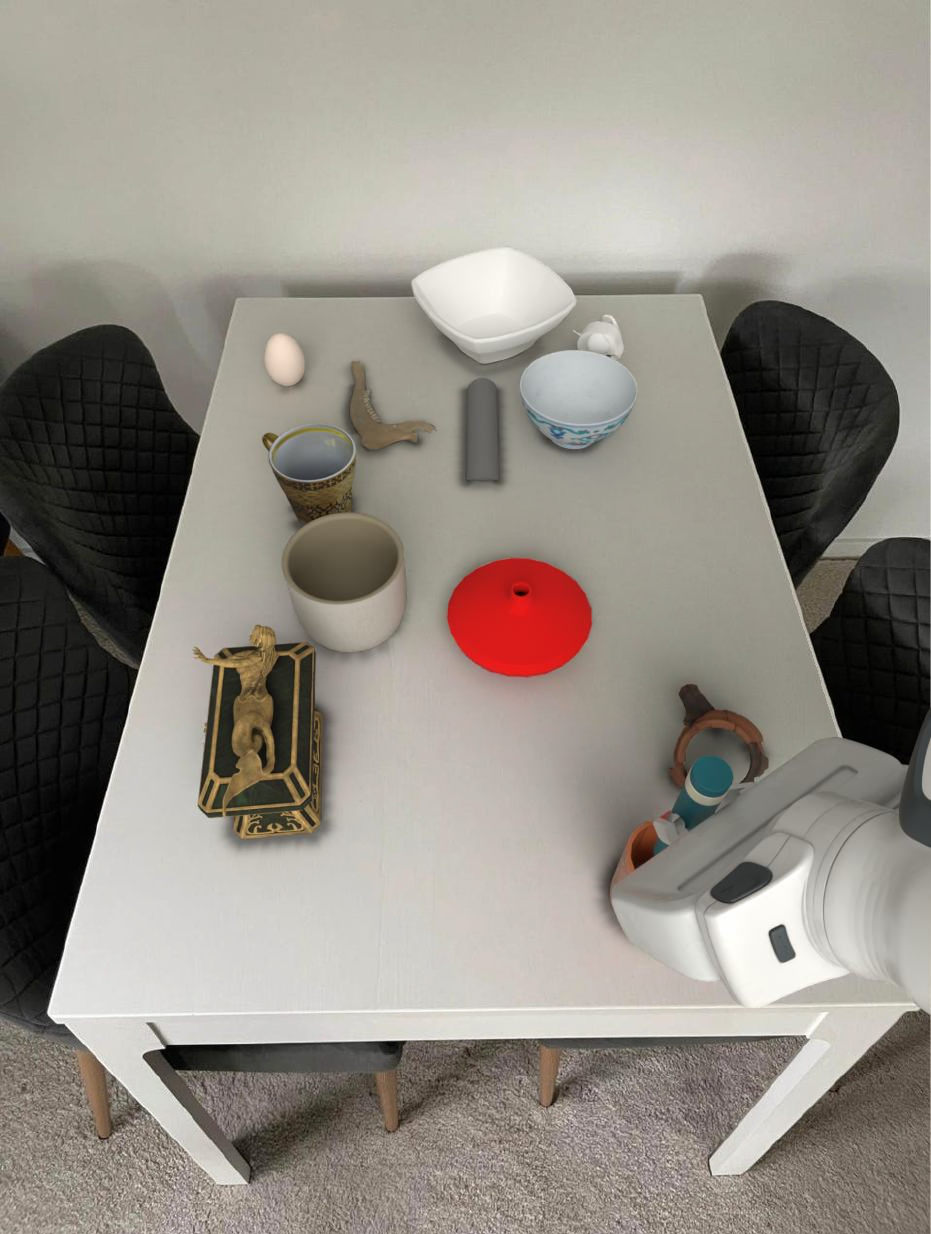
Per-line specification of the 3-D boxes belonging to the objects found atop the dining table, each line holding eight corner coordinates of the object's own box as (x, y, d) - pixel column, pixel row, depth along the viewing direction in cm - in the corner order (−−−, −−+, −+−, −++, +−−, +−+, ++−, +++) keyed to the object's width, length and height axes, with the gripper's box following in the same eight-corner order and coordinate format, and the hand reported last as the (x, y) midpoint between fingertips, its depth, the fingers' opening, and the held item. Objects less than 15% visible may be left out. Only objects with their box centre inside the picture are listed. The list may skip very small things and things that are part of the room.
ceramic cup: (380, 504, 103) (373, 443, 95) (330, 554, 98) (317, 494, 90) (301, 465, 107) (287, 403, 99) (249, 511, 102) (230, 450, 94)
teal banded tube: (693, 848, 64) (740, 767, 53) (678, 876, 63) (724, 800, 52) (661, 830, 65) (702, 746, 54) (646, 857, 64) (684, 778, 52)
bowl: (397, 330, 125) (393, 278, 118) (509, 288, 131) (511, 237, 124) (470, 404, 114) (470, 351, 108) (588, 355, 121) (595, 302, 114)
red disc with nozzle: (461, 566, 97) (461, 525, 91) (595, 584, 95) (603, 544, 89) (434, 677, 88) (431, 639, 82) (581, 700, 86) (589, 663, 80)
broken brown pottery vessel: (784, 774, 81) (791, 774, 73) (701, 821, 83) (699, 826, 75) (716, 671, 85) (716, 661, 77) (637, 717, 86) (629, 713, 78)
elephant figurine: (614, 379, 118) (620, 343, 113) (562, 365, 120) (566, 329, 115) (629, 353, 121) (635, 317, 116) (578, 339, 123) (582, 304, 118)
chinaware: (628, 475, 106) (638, 428, 100) (512, 466, 107) (515, 419, 101) (628, 400, 115) (637, 353, 108) (521, 393, 116) (524, 346, 110)
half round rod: (466, 485, 105) (465, 475, 103) (467, 388, 116) (467, 377, 115) (499, 485, 105) (499, 475, 103) (497, 388, 116) (497, 377, 115)
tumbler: (693, 887, 74) (720, 846, 66) (662, 948, 71) (686, 913, 63) (629, 849, 76) (648, 805, 68) (596, 907, 73) (612, 868, 65)
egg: (271, 372, 119) (260, 323, 113) (309, 370, 119) (300, 322, 113) (268, 396, 116) (256, 348, 109) (307, 394, 116) (298, 346, 109)
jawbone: (382, 470, 107) (380, 458, 106) (304, 392, 117) (301, 380, 116) (438, 437, 110) (436, 426, 108) (357, 364, 120) (354, 352, 118)
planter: (361, 560, 97) (351, 494, 89) (433, 620, 92) (429, 556, 83) (276, 619, 92) (256, 555, 83) (347, 686, 87) (333, 626, 78)
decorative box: (236, 702, 86) (184, 584, 70) (329, 695, 86) (297, 576, 70) (219, 893, 74) (151, 803, 58) (327, 884, 74) (288, 792, 59)
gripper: (944, 735, 49) (773, 702, 61) (687, 932, 42) (555, 849, 55) (972, 824, 50) (798, 774, 63) (727, 1029, 43) (589, 926, 56)
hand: (683, 810), depth 59 cm, fingers closed on teal banded tube, 2 cm apart
